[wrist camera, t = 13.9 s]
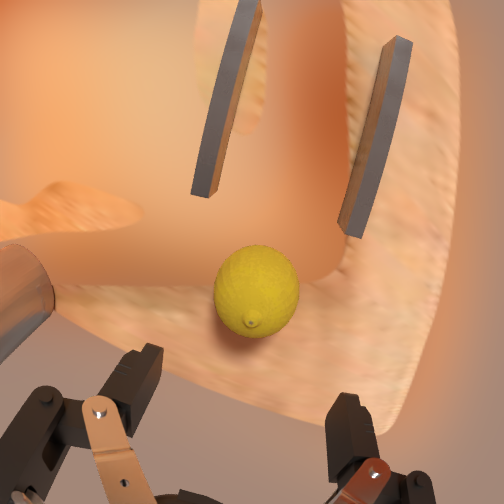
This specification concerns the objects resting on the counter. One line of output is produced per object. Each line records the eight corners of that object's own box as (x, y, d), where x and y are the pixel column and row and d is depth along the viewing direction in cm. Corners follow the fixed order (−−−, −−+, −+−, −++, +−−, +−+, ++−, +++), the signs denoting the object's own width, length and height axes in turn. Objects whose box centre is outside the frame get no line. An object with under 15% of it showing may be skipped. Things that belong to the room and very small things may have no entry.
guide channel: (201, 187, 23) (190, 194, 20) (246, 9, 18) (241, -7, 15) (351, 226, 23) (361, 238, 20) (398, 52, 18) (413, 42, 15)
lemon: (216, 239, 24) (188, 286, 16) (288, 224, 23) (292, 267, 16) (235, 303, 26) (217, 366, 18) (302, 291, 25) (309, 353, 17)
